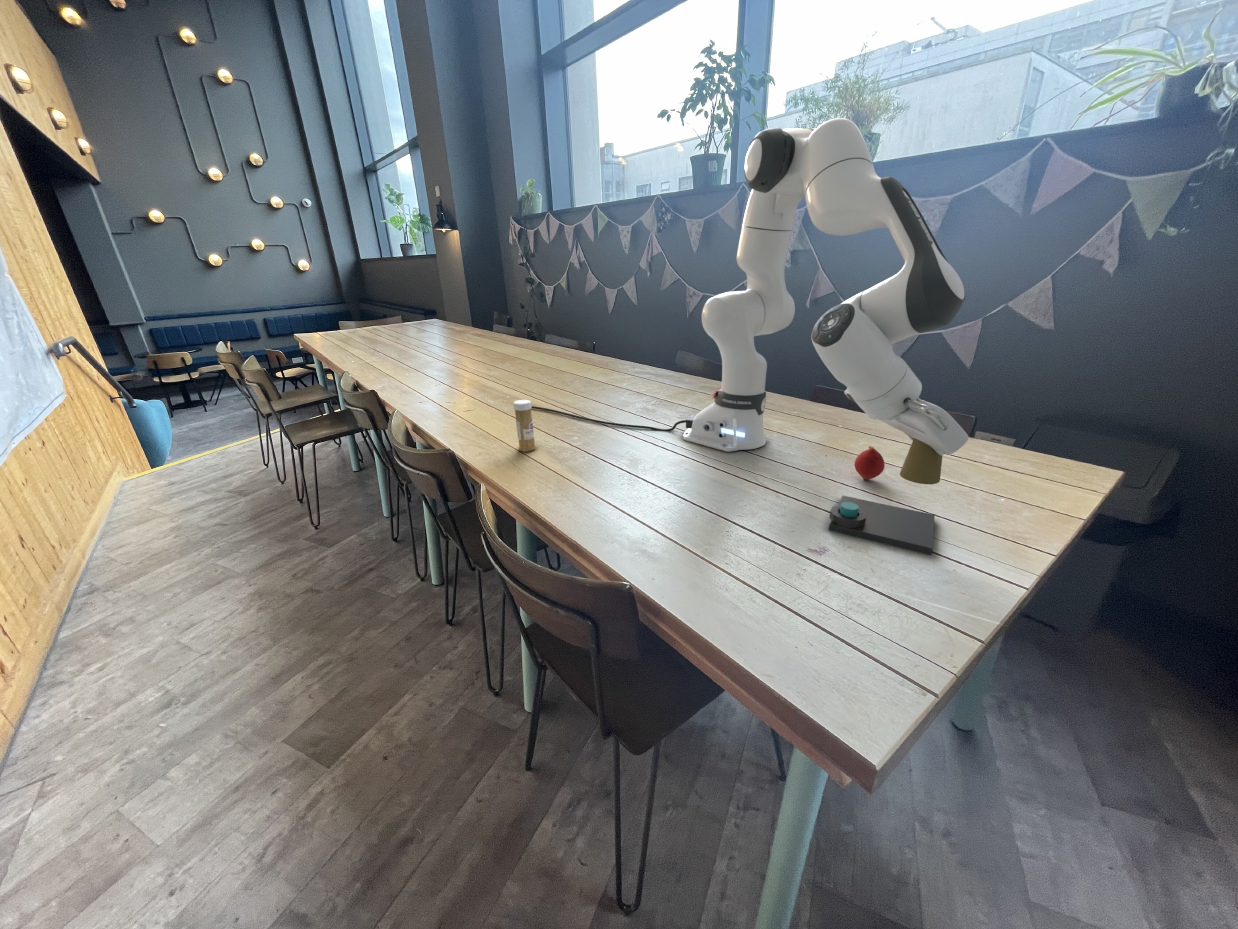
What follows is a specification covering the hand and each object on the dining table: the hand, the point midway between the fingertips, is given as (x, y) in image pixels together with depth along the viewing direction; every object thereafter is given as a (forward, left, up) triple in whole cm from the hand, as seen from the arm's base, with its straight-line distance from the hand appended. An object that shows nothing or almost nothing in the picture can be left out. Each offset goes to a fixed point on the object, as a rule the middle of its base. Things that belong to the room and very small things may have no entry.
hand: (930, 445), depth 79 cm
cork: (0, 0, -6) cm, 6 cm away
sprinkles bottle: (-90, -4, -17) cm, 92 cm away
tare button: (-10, -5, -14) cm, 18 cm away
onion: (-9, +19, -17) cm, 27 cm away
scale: (-4, -1, -16) cm, 17 cm away
